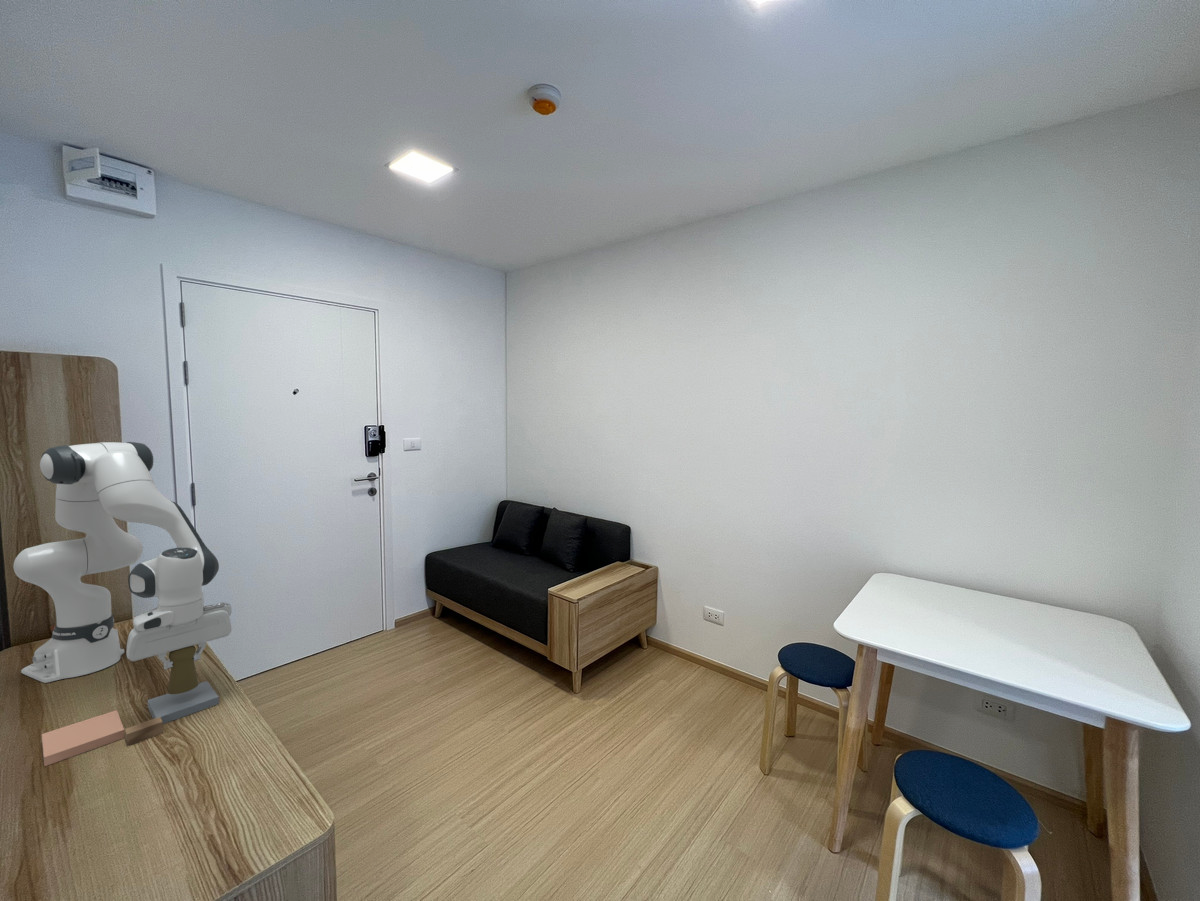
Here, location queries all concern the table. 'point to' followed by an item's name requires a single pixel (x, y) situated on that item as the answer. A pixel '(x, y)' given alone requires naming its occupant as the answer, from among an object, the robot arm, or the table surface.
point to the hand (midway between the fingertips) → (182, 663)
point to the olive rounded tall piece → (182, 671)
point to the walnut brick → (143, 731)
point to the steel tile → (183, 703)
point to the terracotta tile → (81, 737)
